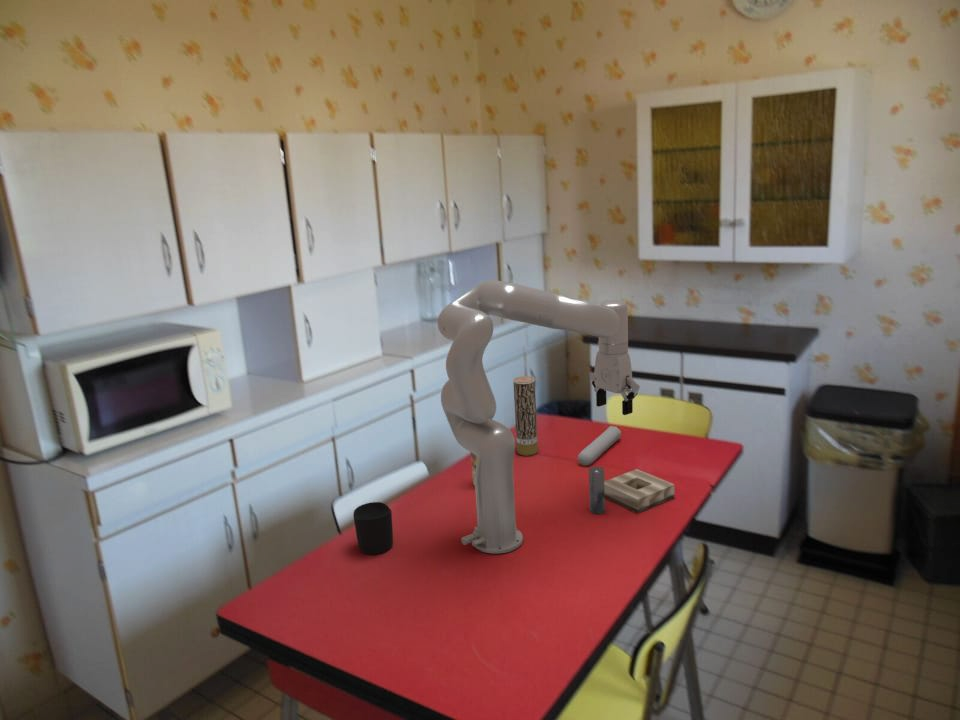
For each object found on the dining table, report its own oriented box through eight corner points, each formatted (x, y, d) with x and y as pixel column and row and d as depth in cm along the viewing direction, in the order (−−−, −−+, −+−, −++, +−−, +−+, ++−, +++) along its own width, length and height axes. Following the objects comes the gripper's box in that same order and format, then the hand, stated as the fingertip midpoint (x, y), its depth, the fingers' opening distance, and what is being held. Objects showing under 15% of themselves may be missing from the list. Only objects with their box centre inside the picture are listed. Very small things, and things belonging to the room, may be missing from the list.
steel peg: (597, 515, 190) (596, 473, 187) (586, 510, 194) (585, 469, 190) (608, 511, 192) (607, 469, 189) (597, 506, 196) (596, 465, 193)
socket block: (638, 513, 190) (637, 499, 189) (601, 495, 202) (600, 482, 200) (674, 497, 198) (674, 484, 197) (636, 481, 209) (636, 469, 208)
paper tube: (514, 450, 237) (510, 378, 231) (533, 447, 239) (530, 375, 233) (521, 458, 231) (517, 383, 225) (541, 454, 233) (537, 380, 227)
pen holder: (400, 538, 185) (396, 503, 182) (386, 557, 176) (382, 520, 174) (366, 536, 187) (362, 501, 185) (351, 554, 179) (346, 518, 176)
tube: (592, 457, 219) (623, 430, 239) (577, 449, 221) (608, 423, 241) (587, 472, 221) (618, 443, 241) (572, 464, 223) (604, 436, 243)
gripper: (580, 345, 193) (581, 405, 198) (627, 356, 180) (627, 420, 184) (600, 340, 197) (601, 399, 202) (648, 350, 184) (648, 414, 188)
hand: (614, 409), depth 193 cm, fingers open, 9 cm apart
